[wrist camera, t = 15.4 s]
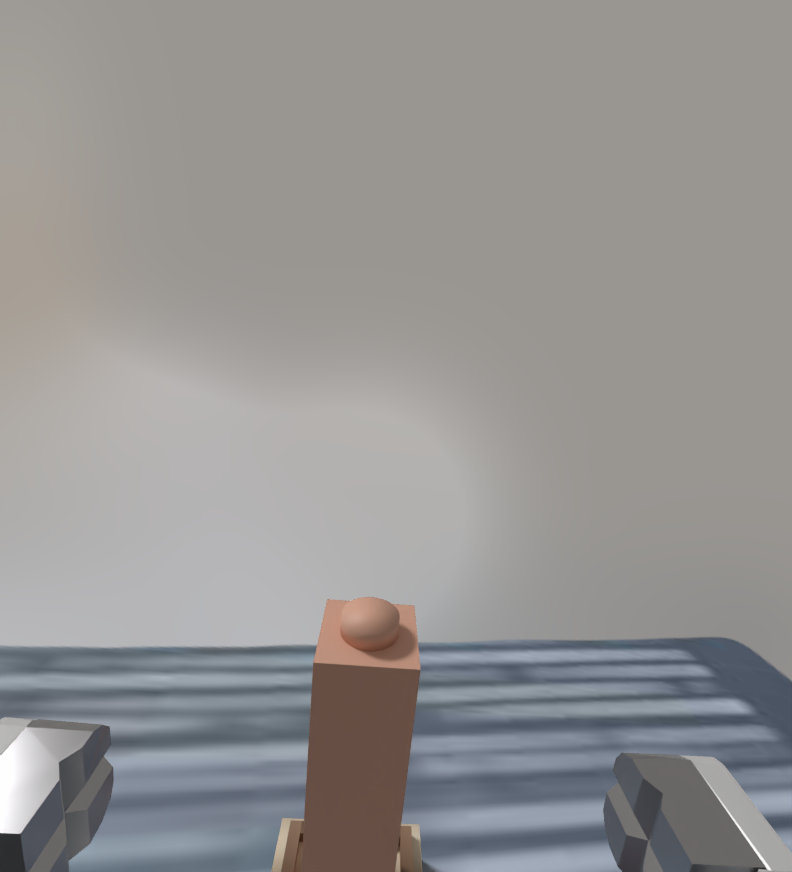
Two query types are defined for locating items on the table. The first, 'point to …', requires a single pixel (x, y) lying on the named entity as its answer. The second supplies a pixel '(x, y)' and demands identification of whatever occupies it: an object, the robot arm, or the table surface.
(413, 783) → the table surface
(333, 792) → the pillar
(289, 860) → the base
